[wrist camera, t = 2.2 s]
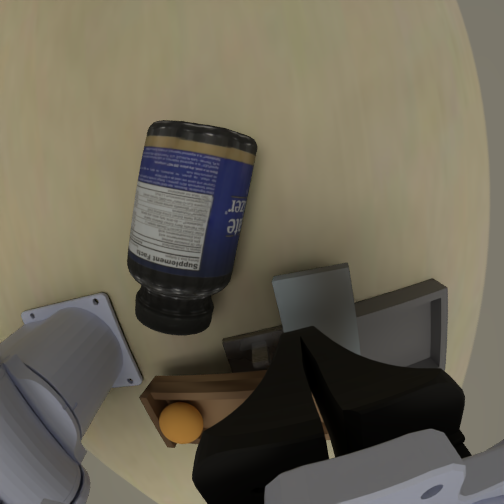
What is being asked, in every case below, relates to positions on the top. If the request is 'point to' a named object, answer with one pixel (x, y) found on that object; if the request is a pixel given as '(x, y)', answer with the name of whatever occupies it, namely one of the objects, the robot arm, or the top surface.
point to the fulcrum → (252, 349)
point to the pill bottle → (187, 221)
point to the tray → (405, 326)
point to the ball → (181, 422)
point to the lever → (292, 317)
